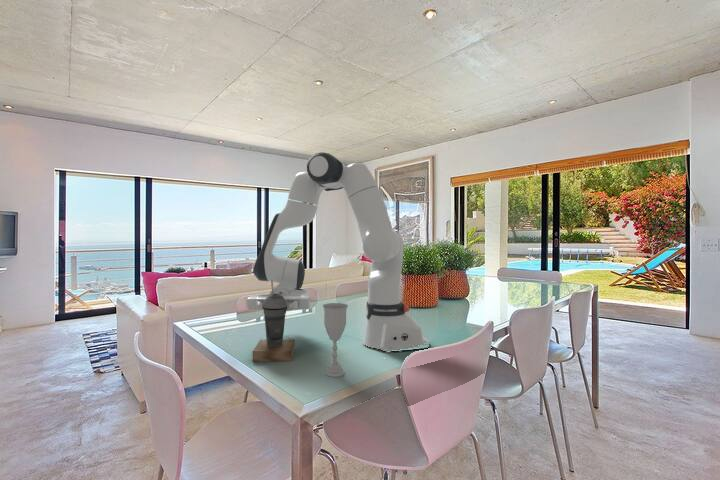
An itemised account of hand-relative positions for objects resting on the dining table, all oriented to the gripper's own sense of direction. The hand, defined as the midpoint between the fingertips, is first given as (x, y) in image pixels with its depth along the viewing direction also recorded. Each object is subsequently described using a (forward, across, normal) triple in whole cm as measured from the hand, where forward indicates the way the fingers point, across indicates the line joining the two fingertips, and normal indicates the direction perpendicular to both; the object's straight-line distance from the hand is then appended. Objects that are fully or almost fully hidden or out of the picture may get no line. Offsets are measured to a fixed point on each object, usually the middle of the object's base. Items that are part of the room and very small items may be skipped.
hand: (275, 306), depth 105 cm
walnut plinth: (0, 0, +14) cm, 15 cm away
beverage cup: (0, 0, +12) cm, 12 cm away
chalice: (+15, +18, +15) cm, 28 cm away
